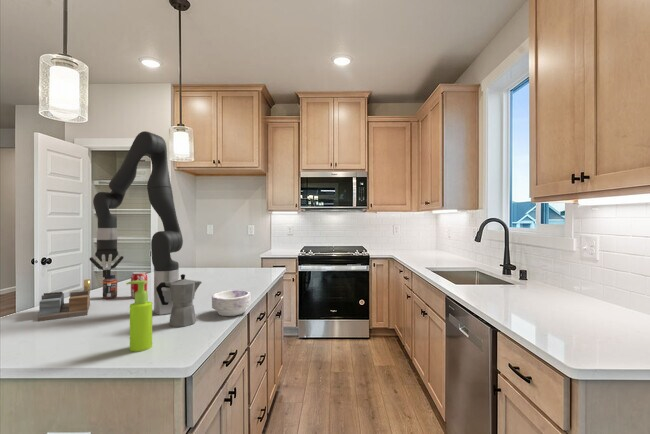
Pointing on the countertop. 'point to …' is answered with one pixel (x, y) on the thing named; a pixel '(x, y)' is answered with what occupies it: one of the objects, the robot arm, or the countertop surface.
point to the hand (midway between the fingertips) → (106, 278)
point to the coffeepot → (180, 301)
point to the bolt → (86, 287)
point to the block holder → (63, 305)
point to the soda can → (134, 287)
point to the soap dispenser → (140, 319)
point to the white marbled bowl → (231, 302)
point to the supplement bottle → (110, 287)
